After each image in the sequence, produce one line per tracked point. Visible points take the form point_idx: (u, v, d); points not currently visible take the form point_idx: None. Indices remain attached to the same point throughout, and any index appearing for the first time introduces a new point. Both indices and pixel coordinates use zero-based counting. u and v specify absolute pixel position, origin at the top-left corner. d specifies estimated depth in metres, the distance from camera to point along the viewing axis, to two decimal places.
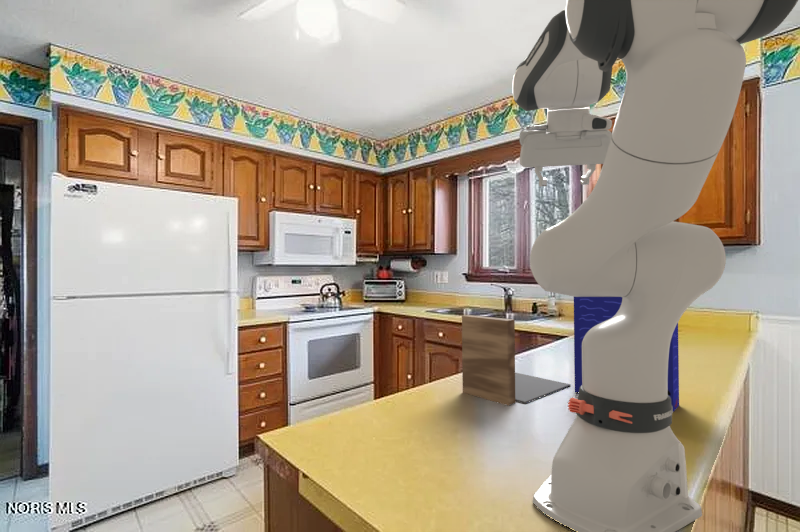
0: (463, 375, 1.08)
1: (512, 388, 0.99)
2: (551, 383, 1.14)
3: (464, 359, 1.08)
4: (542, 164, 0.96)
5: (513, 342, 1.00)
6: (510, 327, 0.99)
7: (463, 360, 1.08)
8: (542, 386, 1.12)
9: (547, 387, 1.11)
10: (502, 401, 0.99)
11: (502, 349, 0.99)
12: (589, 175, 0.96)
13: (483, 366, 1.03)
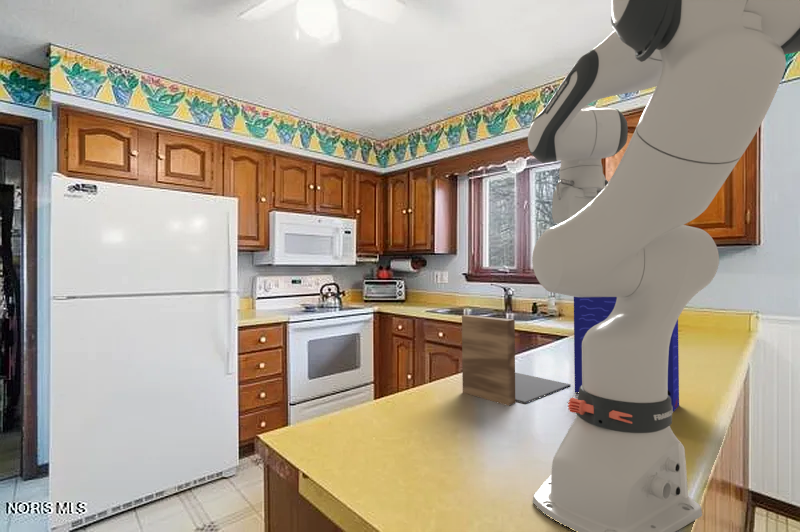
0: (463, 375, 1.08)
1: (512, 388, 0.99)
2: (551, 383, 1.14)
3: (464, 359, 1.08)
4: None
5: (513, 342, 1.00)
6: (510, 327, 0.99)
7: (463, 360, 1.08)
8: (542, 386, 1.12)
9: (547, 387, 1.11)
10: (502, 401, 0.99)
11: (502, 349, 0.99)
12: None
13: (483, 366, 1.03)
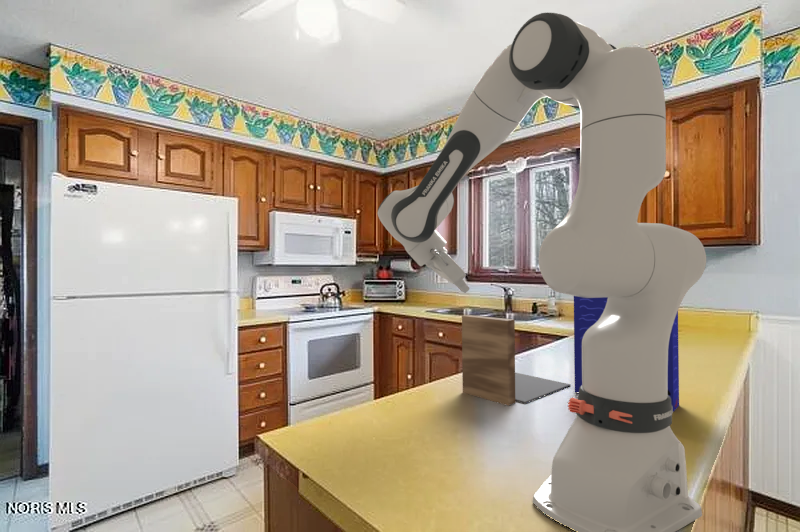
0: (463, 375, 1.08)
1: (512, 388, 0.99)
2: (551, 383, 1.14)
3: (464, 359, 1.08)
4: None
5: (513, 342, 1.00)
6: (510, 327, 0.99)
7: (463, 360, 1.08)
8: (542, 386, 1.12)
9: (547, 387, 1.11)
10: (502, 401, 0.99)
11: (502, 349, 0.99)
12: None
13: (483, 366, 1.03)
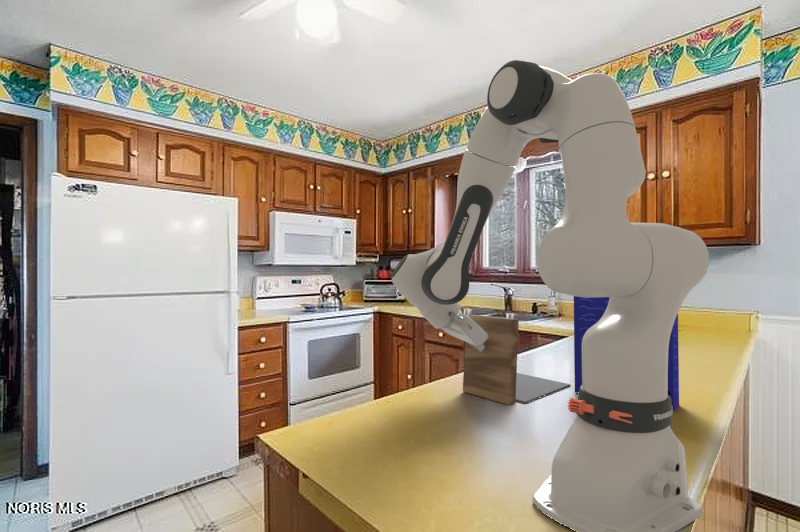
0: (464, 374, 1.09)
1: (513, 387, 1.00)
2: (551, 383, 1.14)
3: (466, 358, 1.09)
4: None
5: (516, 341, 1.01)
6: (514, 326, 1.00)
7: (465, 359, 1.09)
8: (542, 386, 1.12)
9: (547, 387, 1.11)
10: (502, 400, 0.99)
11: (505, 347, 1.00)
12: None
13: (485, 365, 1.04)
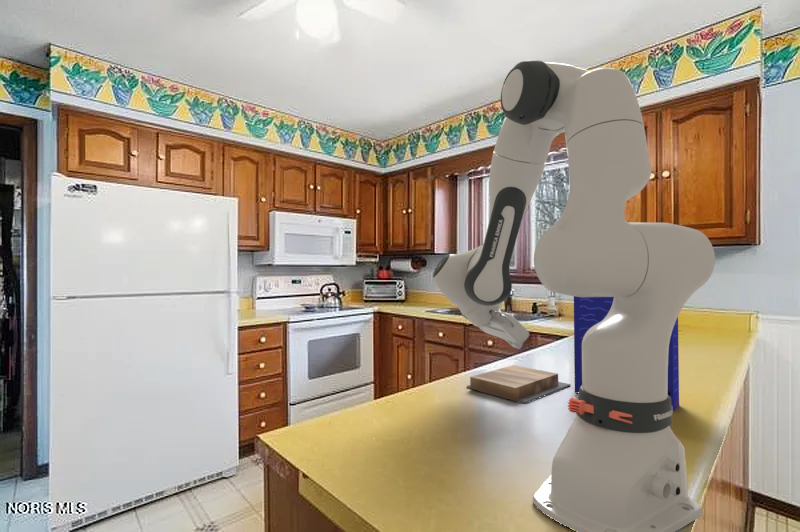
0: (482, 374, 1.13)
1: (524, 392, 1.03)
2: None
3: (492, 371, 1.16)
4: None
5: (547, 386, 1.10)
6: (554, 379, 1.12)
7: (491, 371, 1.16)
8: None
9: None
10: (511, 386, 1.02)
11: (540, 377, 1.10)
12: None
13: (510, 376, 1.11)
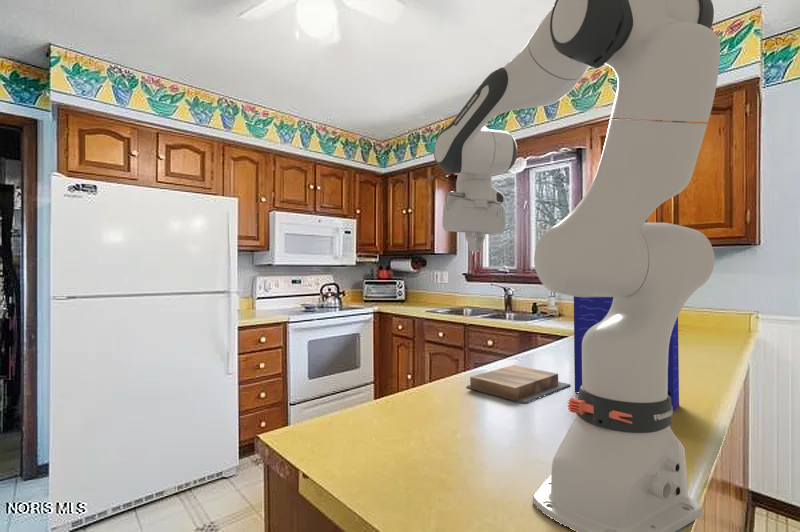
0: (482, 374, 1.13)
1: (524, 392, 1.03)
2: None
3: (492, 371, 1.16)
4: (466, 228, 0.97)
5: (547, 386, 1.10)
6: (554, 379, 1.12)
7: (491, 371, 1.16)
8: None
9: None
10: (511, 386, 1.02)
11: (540, 377, 1.10)
12: (481, 242, 1.02)
13: (510, 376, 1.11)
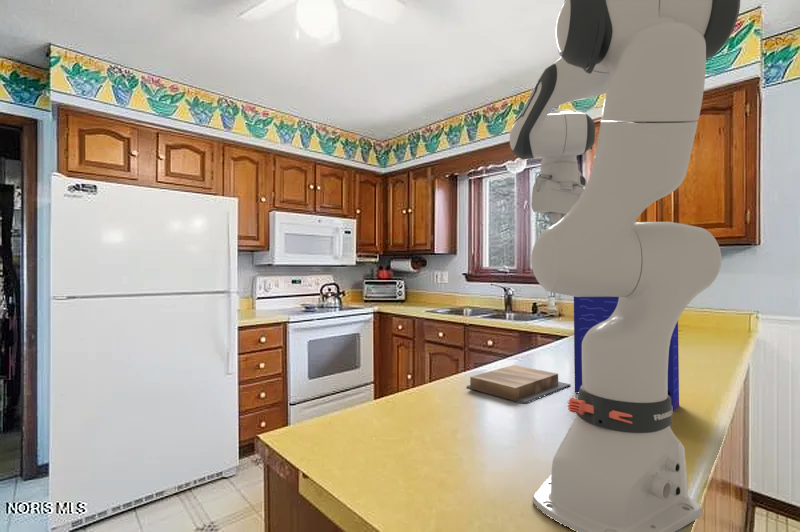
0: (482, 374, 1.13)
1: (524, 392, 1.03)
2: None
3: (492, 371, 1.16)
4: (554, 209, 1.00)
5: (547, 386, 1.10)
6: (554, 379, 1.12)
7: (491, 371, 1.16)
8: None
9: None
10: (511, 386, 1.02)
11: (540, 377, 1.10)
12: None
13: (510, 376, 1.11)
